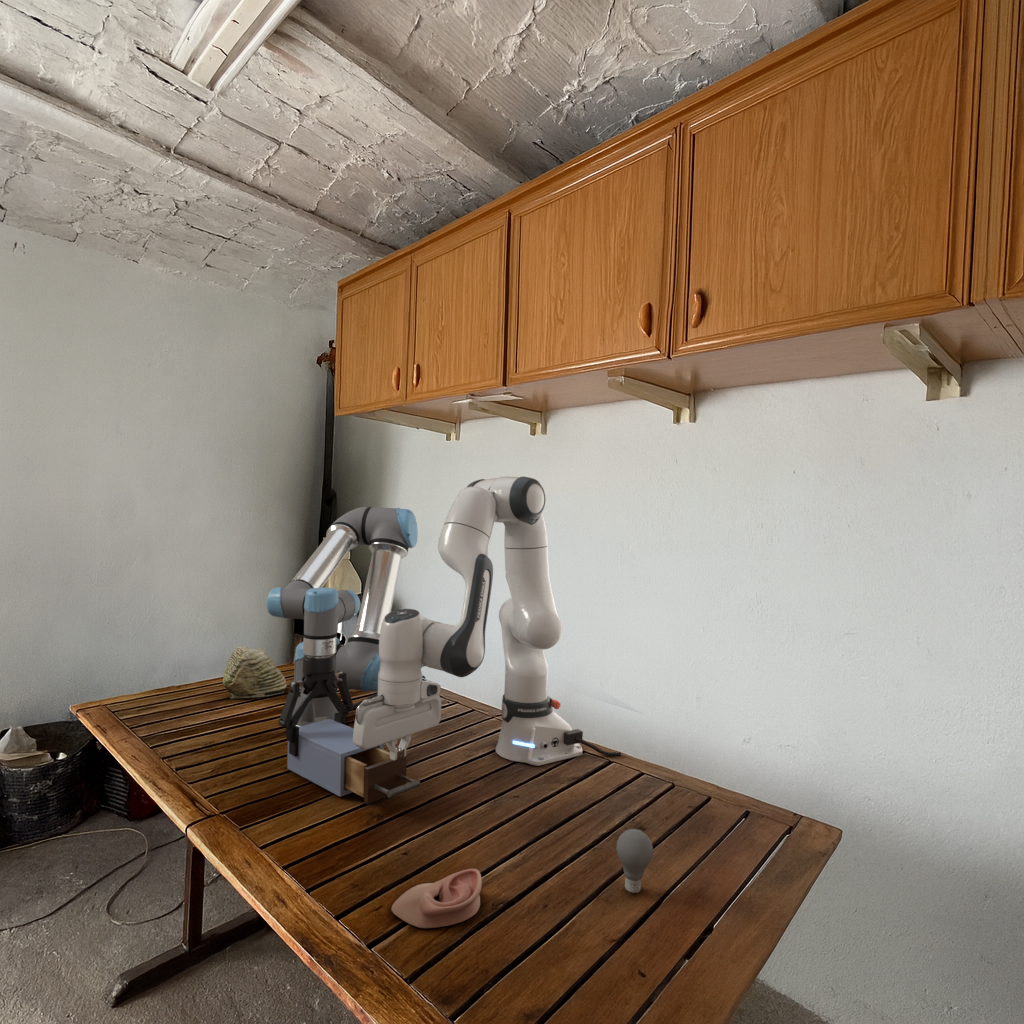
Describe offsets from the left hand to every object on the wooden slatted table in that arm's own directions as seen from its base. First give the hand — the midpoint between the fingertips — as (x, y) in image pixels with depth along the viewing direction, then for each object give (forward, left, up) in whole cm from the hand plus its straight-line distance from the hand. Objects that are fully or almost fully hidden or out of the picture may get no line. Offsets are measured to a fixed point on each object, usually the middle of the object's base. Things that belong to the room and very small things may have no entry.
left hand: (316, 747), depth 149 cm
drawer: (+1, +20, -3) cm, 20 cm away
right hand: (+1, +30, +7) cm, 30 cm away
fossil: (-17, -58, -4) cm, 60 cm away
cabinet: (0, +8, -4) cm, 9 cm away
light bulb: (-8, +79, -4) cm, 79 cm away
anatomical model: (+17, +58, -4) cm, 60 cm away
